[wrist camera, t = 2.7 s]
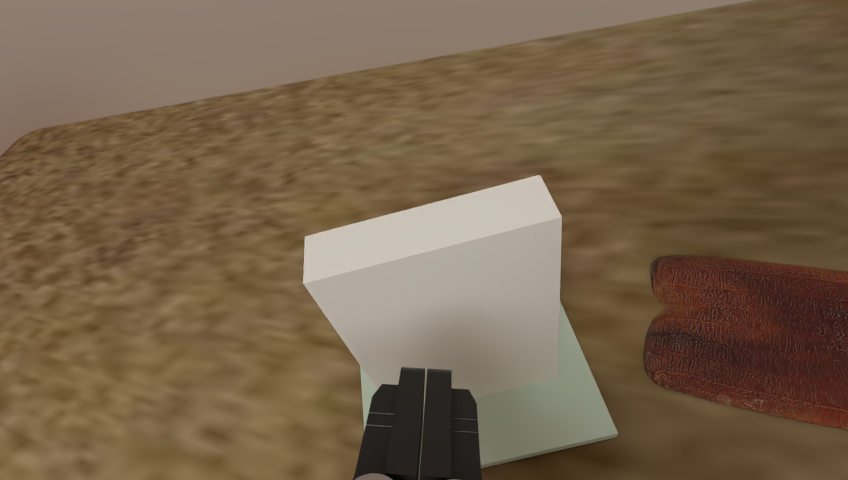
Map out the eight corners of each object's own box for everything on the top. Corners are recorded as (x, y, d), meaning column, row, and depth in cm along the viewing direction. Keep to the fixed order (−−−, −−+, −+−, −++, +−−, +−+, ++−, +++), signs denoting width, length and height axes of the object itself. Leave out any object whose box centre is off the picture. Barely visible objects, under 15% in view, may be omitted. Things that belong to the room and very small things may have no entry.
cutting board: (616, 437, 25) (618, 433, 24) (371, 493, 25) (367, 491, 25) (513, 197, 38) (512, 192, 38) (354, 238, 39) (352, 234, 39)
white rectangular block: (557, 377, 27) (561, 216, 17) (395, 416, 27) (303, 283, 17) (543, 339, 29) (539, 173, 18) (391, 376, 29) (305, 234, 19)
